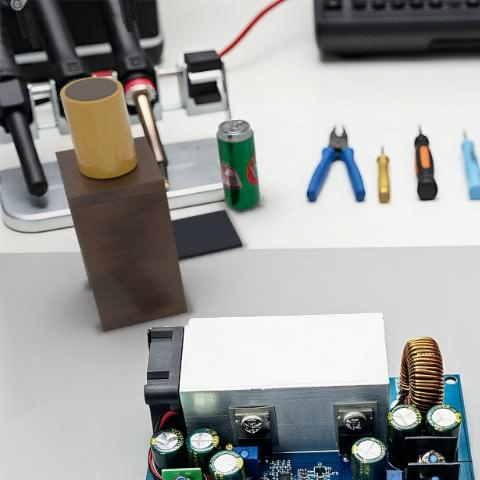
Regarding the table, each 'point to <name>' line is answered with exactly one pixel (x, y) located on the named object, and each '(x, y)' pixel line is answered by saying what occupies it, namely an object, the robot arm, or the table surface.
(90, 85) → the cup
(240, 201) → the soda can
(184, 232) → the mat
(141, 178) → the tall brown wooden block
